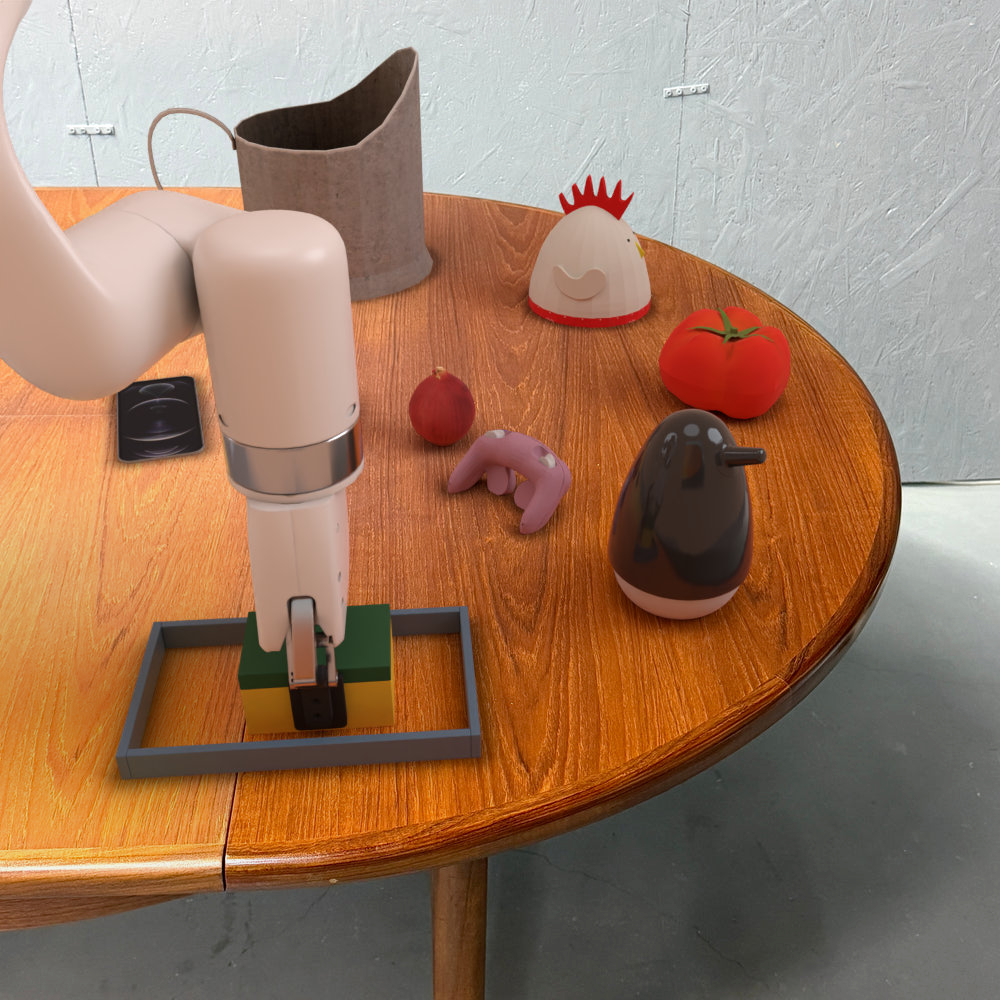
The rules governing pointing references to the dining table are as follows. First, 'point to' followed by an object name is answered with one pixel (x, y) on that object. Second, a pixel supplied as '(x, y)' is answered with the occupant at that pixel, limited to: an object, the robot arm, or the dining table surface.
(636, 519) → the pump dispenser
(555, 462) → the video game controller
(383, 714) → the sponge
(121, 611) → the dining table surface
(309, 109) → the pitcher
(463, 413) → the onion
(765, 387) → the tomato
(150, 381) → the smartphone
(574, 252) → the kitchen timer
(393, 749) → the rectangular frame
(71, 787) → the dining table surface
